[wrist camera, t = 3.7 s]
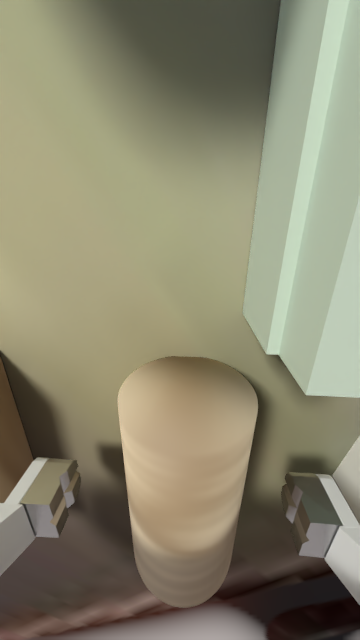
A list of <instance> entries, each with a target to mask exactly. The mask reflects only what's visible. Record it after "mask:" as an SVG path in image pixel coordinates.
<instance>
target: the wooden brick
mask: <svg viewBox="0 0 360 640" xmlns="http://www.w3.org/2000/svg"><path fill="white" fill-rule="evenodd" d="M33 461H34V460H33V457H32V454H31V451H30V448H29V444H28V441H27V438H26V435H25V432H24V429H23V426H22V423H21V419H20V416H19V413H18V410H17V407H16V404H15V401H14V397H13V394H12V391H11V388H10V385H9V382H8V379H7V375H6V372H5V369H4V366H3V363H2V360H1V357H0V503H4V502H5V501H6V499H7V498H8V496H9V495H10V494H11V492H12V491H13V489H14V488H15V486H16V485H17V483H18V482H19V481H20V479H21V478H22V476H23V475H24V473H25V472H26V470H27V469H28V468H29V466H30V465H31V463H32V462H33Z"/></svg>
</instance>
